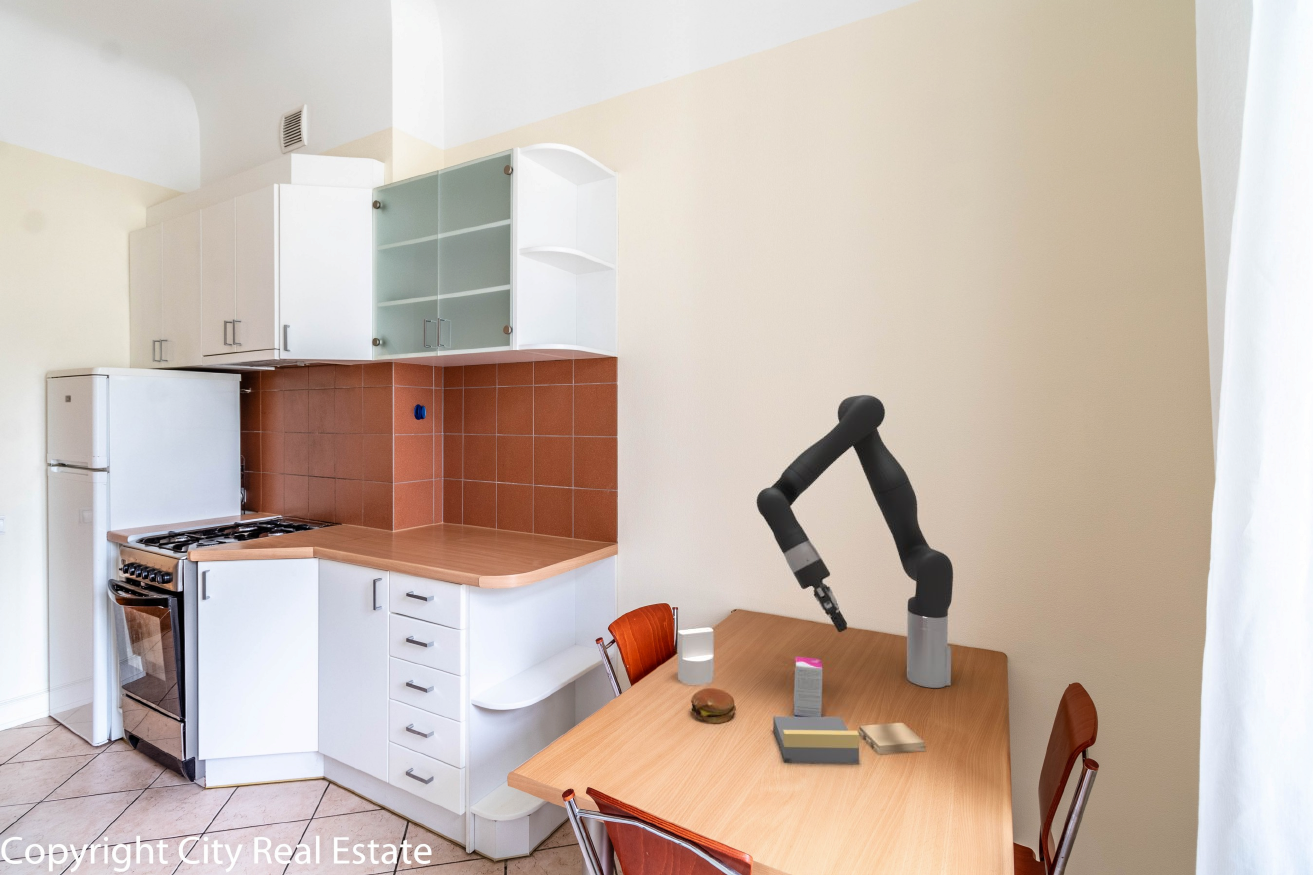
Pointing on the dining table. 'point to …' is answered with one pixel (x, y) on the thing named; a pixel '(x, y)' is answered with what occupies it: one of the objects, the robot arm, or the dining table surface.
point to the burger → (713, 705)
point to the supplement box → (808, 687)
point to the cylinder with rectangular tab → (696, 656)
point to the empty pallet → (891, 738)
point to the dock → (816, 740)
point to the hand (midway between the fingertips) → (843, 628)
